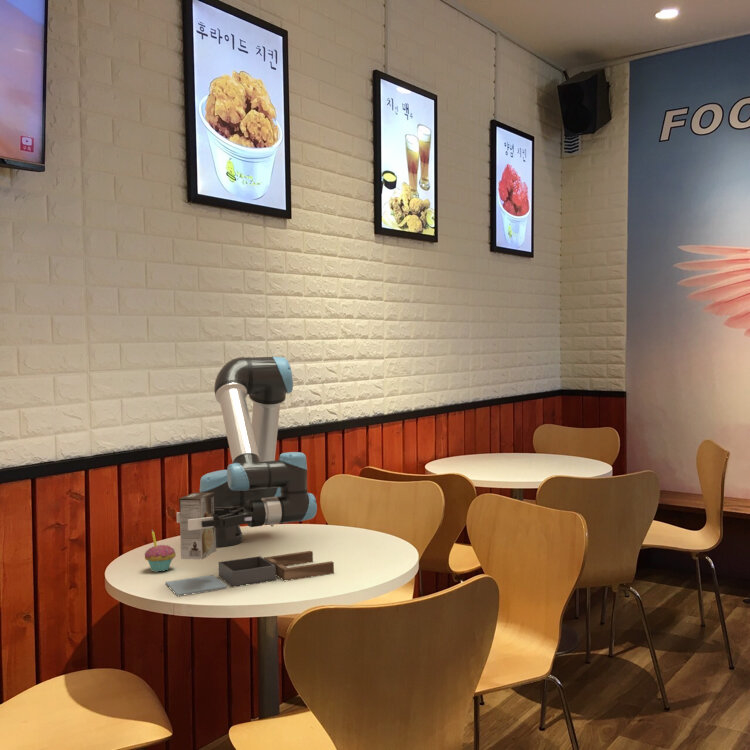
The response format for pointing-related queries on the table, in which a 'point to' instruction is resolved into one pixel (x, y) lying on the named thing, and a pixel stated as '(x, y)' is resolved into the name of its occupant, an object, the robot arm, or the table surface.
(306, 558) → the walnut slot
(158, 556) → the cupcake
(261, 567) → the bin
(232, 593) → the table surface
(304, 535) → the table surface
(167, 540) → the table surface
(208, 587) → the mat
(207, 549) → the coffee box
